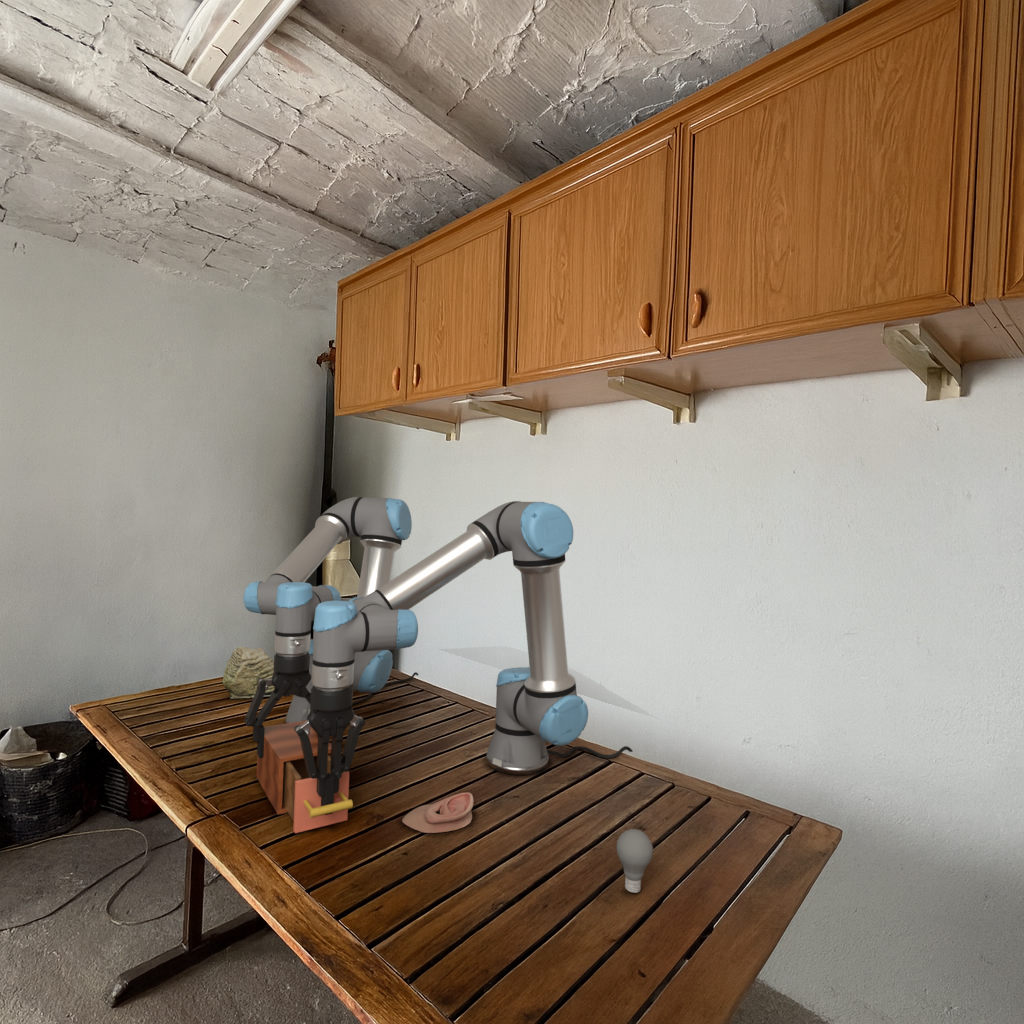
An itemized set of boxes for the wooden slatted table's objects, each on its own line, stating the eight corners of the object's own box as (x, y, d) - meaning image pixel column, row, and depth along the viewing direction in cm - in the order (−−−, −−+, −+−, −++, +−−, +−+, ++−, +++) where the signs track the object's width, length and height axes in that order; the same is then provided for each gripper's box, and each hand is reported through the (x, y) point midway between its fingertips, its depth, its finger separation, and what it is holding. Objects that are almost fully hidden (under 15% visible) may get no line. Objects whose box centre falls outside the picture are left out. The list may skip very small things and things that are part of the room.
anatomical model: (396, 808, 122) (417, 782, 133) (395, 828, 122) (416, 801, 133) (463, 818, 119) (478, 791, 130) (462, 839, 119) (477, 810, 131)
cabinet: (333, 801, 132) (335, 748, 132) (277, 814, 126) (279, 758, 125) (307, 767, 148) (309, 719, 147) (256, 777, 141) (258, 727, 141)
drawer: (357, 833, 118) (359, 783, 118) (303, 847, 113) (305, 795, 113) (319, 783, 138) (321, 740, 138) (271, 793, 132) (273, 749, 132)
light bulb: (610, 879, 108) (613, 822, 108) (644, 879, 109) (647, 822, 109) (619, 902, 102) (622, 840, 102) (655, 901, 103) (658, 840, 103)
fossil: (218, 695, 195) (220, 647, 195) (278, 685, 208) (279, 640, 207) (228, 703, 189) (230, 653, 188) (289, 692, 201) (290, 645, 201)
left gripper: (238, 662, 131) (234, 767, 131) (349, 651, 144) (345, 747, 144) (231, 654, 137) (227, 754, 137) (338, 644, 150) (335, 736, 150)
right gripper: (302, 696, 111) (296, 829, 111) (373, 686, 118) (367, 811, 118) (291, 684, 117) (285, 810, 117) (359, 676, 124) (353, 795, 125)
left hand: (288, 750), depth 141 cm, fingers closed on cabinet, 11 cm apart
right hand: (326, 810), depth 118 cm, fingers closed
